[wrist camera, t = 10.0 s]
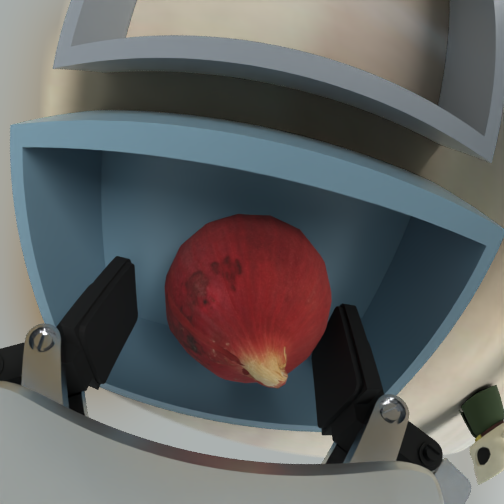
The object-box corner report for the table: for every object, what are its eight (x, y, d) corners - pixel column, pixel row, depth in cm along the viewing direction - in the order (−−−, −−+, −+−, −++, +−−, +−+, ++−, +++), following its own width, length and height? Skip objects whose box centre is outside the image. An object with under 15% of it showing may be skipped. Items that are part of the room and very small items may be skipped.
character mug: (465, 387, 21) (495, 476, 9) (507, 362, 19) (542, 441, 8) (448, 421, 25) (466, 490, 14) (485, 401, 24) (507, 466, 12)
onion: (184, 312, 14) (154, 440, 6) (181, 200, 12) (109, 251, 4) (295, 314, 14) (346, 434, 7) (307, 205, 13) (408, 258, 5)
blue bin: (99, 109, 11) (10, 124, 5) (430, 180, 11) (506, 230, 6) (106, 308, 17) (66, 372, 12) (343, 357, 18) (356, 431, 12)
